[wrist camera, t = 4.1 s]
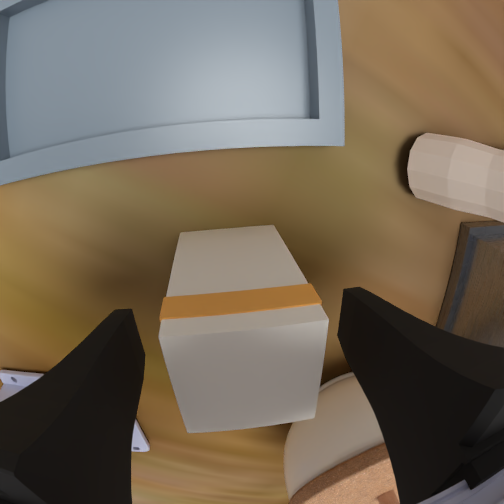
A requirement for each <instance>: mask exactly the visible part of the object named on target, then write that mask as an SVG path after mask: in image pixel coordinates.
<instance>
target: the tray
mask: <svg viewBox="0 0 504 504" xmlns="http://www.w3.org/2000/svg"><path fill="white" fill-rule="evenodd" d="M269 146H344V82H343V60H342V44H341V30H340V18H339V8H338V0H0V185H3V184H7V183H11V182H15V181H19V180H23V179H27V178H31V177H35V176H39V175H44V174H48V173H53V172H58V171H63V170H67V169H73V168H78V167H83V166H89V165H94V164H100V163H106V162H112V161H118V160H125V159H132V158H139V157H147V156H155V155H163V154H172V153H181V152H191V151H202V150H215V149H229V148H246V147H269Z"/></svg>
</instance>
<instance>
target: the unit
mask: <svg viewBox="0 0 504 504" xmlns="http://www.w3.org/2000/svg"><path fill="white" fill-rule="evenodd" d="M436 327H437V328H440V329H442V330H445V331H447V332H450V333H452V334H455V335H458V336H461V337H464V338H467V339H470V340H474V341H477V342H480V343H484V344H489V345H493V346H498V347H503V348H504V223H503V222H501V221H486V222H468V223H461V228H460V233H459V239H458V244H457V249H456V254H455V258H454V263H453V267H452V271H451V276H450V280H449V284H448V287H447V291H446V295H445V298H444V302H443V306H442V309H441V312H440V316H439V319H438V322H437V325H436Z"/></svg>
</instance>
